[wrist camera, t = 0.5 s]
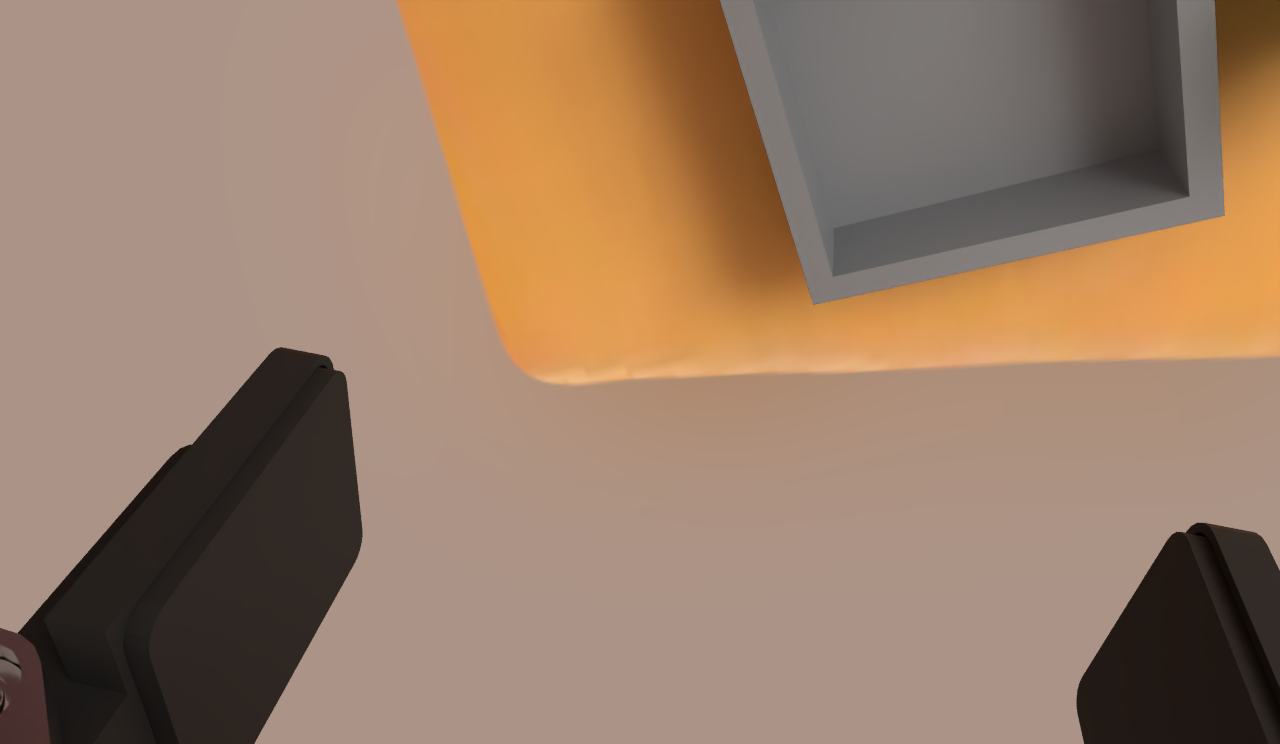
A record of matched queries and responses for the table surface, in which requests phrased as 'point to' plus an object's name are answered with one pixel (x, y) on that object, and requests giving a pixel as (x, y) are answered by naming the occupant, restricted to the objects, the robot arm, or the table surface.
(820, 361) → the table surface
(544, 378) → the table surface
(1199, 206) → the bin
